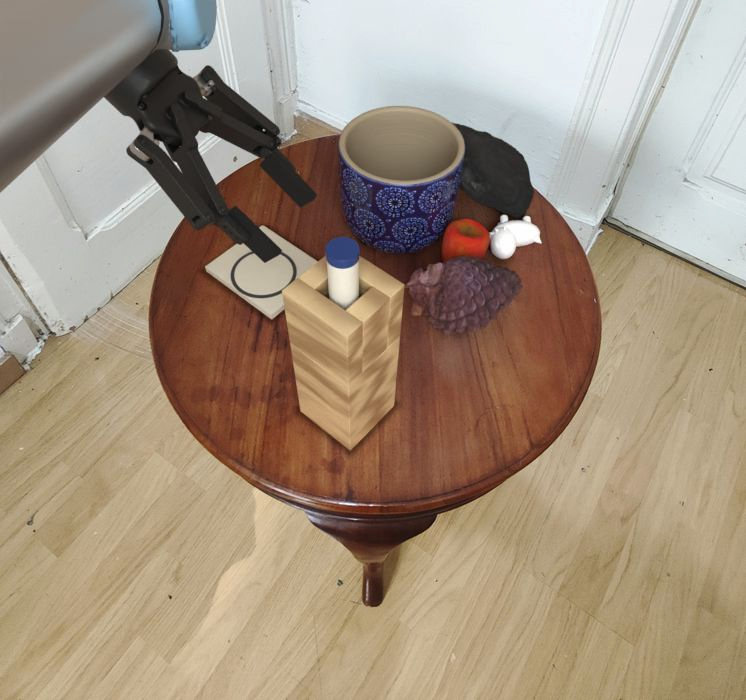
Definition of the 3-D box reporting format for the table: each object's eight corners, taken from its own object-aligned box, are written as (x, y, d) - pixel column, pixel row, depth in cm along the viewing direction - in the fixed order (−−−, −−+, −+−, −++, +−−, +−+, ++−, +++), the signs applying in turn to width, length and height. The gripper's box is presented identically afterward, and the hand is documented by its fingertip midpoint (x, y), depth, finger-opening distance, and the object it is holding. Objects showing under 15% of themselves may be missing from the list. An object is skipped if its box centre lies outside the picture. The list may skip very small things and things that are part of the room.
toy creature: (488, 209, 89) (492, 246, 86) (544, 212, 90) (549, 249, 87) (481, 230, 93) (484, 265, 90) (534, 232, 94) (539, 268, 91)
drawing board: (271, 319, 84) (270, 314, 83) (206, 271, 88) (204, 265, 87) (328, 273, 89) (328, 267, 88) (263, 229, 93) (262, 224, 92)
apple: (432, 254, 91) (446, 209, 85) (474, 261, 91) (490, 216, 86) (435, 281, 86) (450, 235, 81) (479, 288, 87) (496, 243, 82)
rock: (520, 244, 92) (553, 209, 88) (442, 212, 86) (473, 173, 82) (495, 179, 102) (523, 145, 97) (423, 147, 96) (450, 108, 91)
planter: (473, 248, 92) (490, 163, 79) (368, 283, 87) (370, 199, 75) (420, 178, 100) (429, 93, 88) (323, 207, 96) (318, 121, 84)
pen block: (350, 451, 73) (347, 336, 55) (300, 411, 76) (281, 290, 58) (394, 405, 76) (405, 284, 58) (344, 369, 79) (340, 243, 61)
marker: (346, 355, 63) (343, 266, 53) (325, 340, 64) (318, 249, 54) (365, 338, 65) (366, 247, 54) (344, 323, 66) (341, 231, 55)
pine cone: (492, 263, 90) (538, 240, 81) (506, 331, 89) (554, 316, 80) (381, 271, 82) (418, 247, 73) (395, 346, 81) (434, 331, 72)
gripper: (163, 26, 68) (310, 181, 78) (34, 140, 56) (227, 307, 66) (196, -18, 62) (350, 155, 72) (62, 99, 51) (268, 287, 60)
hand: (291, 227), depth 69 cm, fingers open, 9 cm apart
